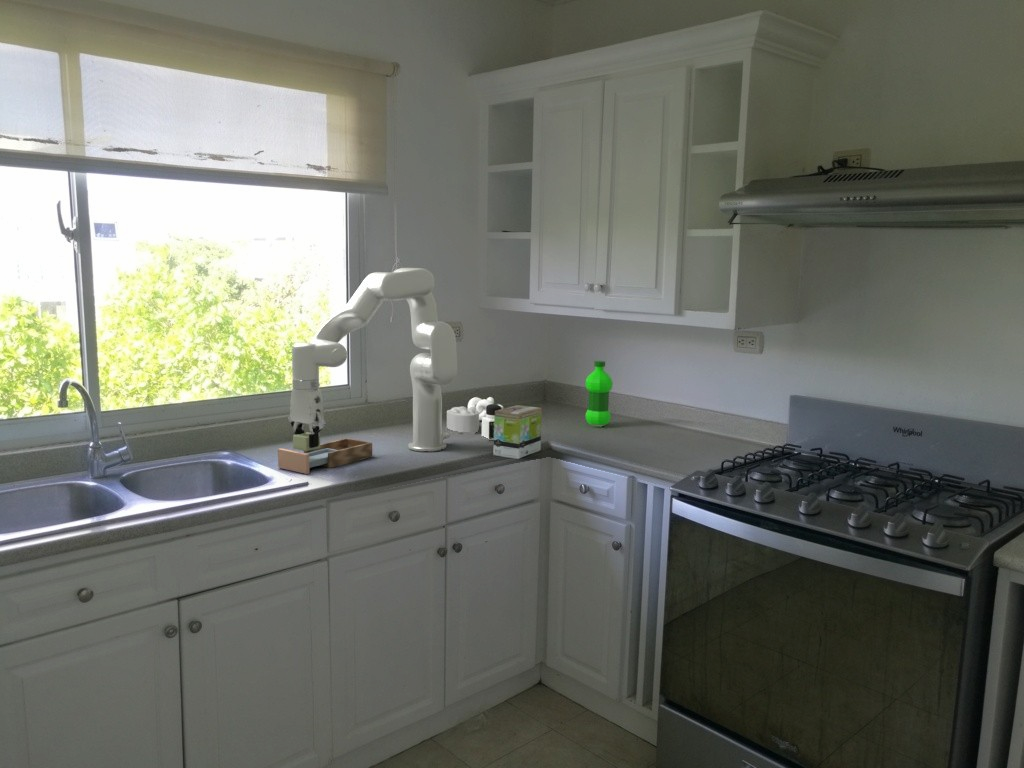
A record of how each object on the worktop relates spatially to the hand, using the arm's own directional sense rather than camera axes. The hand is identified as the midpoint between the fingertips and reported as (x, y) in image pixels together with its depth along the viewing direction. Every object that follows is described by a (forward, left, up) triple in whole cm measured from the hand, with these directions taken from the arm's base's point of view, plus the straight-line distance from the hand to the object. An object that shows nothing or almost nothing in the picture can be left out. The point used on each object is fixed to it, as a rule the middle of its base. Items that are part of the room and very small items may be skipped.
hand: (306, 444), depth 234 cm
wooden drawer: (-3, 0, -7) cm, 7 cm away
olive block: (0, 0, -1) cm, 1 cm away
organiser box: (-13, 0, -7) cm, 14 cm away
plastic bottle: (-110, +40, -7) cm, 117 cm away
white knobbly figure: (-92, -2, -7) cm, 92 cm away
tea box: (-54, +39, -7) cm, 67 cm away
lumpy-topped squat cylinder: (-71, +4, -7) cm, 72 cm away
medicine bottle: (-68, +20, -7) cm, 71 cm away
